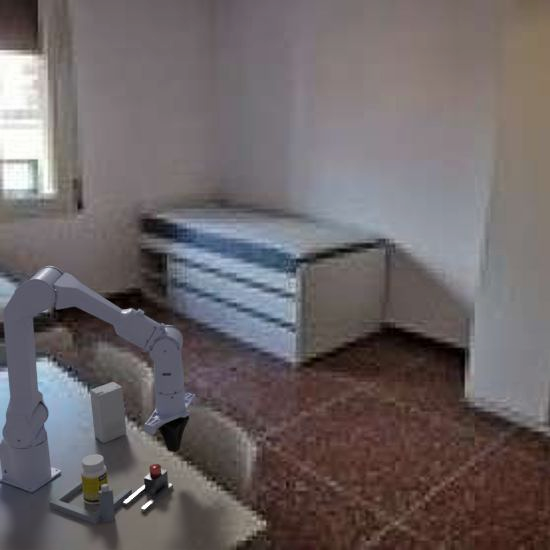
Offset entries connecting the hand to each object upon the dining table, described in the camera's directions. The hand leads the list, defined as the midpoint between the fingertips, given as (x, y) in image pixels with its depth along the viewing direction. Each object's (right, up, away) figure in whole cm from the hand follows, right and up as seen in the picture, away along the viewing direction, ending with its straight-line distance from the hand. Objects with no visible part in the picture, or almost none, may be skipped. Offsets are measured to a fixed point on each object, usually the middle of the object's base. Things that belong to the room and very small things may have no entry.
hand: (173, 449), depth 136 cm
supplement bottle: (-14, -8, -6) cm, 17 cm away
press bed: (-14, -8, -7) cm, 18 cm away
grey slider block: (-3, -7, -3) cm, 8 cm away
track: (-4, -8, -6) cm, 10 cm away
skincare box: (-17, -1, +17) cm, 24 cm away
